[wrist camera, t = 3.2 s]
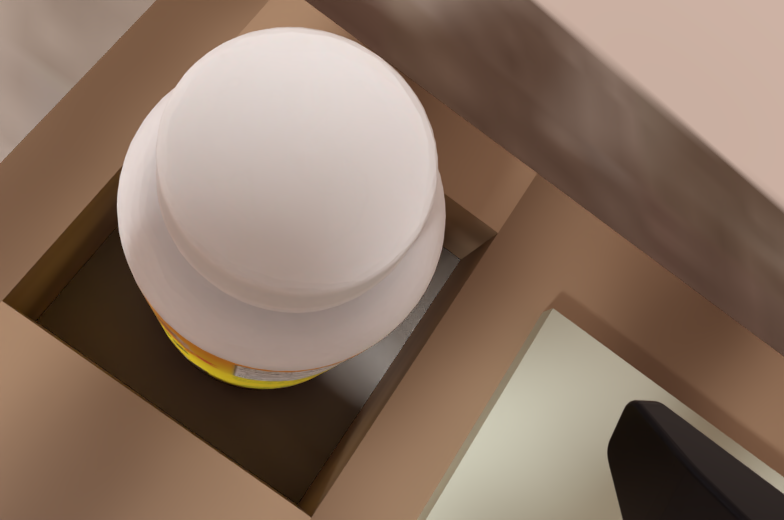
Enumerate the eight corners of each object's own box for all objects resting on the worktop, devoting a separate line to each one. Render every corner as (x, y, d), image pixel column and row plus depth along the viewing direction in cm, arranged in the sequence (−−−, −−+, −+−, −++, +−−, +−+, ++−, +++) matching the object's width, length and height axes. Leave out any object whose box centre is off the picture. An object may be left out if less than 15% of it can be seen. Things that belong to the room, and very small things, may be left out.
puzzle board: (812, 440, 23) (918, 442, 19) (599, 926, 18) (687, 1040, 15) (218, 1, 22) (218, -80, 18) (-158, 410, 17) (-251, 404, 14)
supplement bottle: (150, 192, 20) (84, -39, 10) (355, 185, 21) (470, -24, 11) (159, 404, 19) (94, 372, 9) (374, 383, 20) (520, 336, 10)
